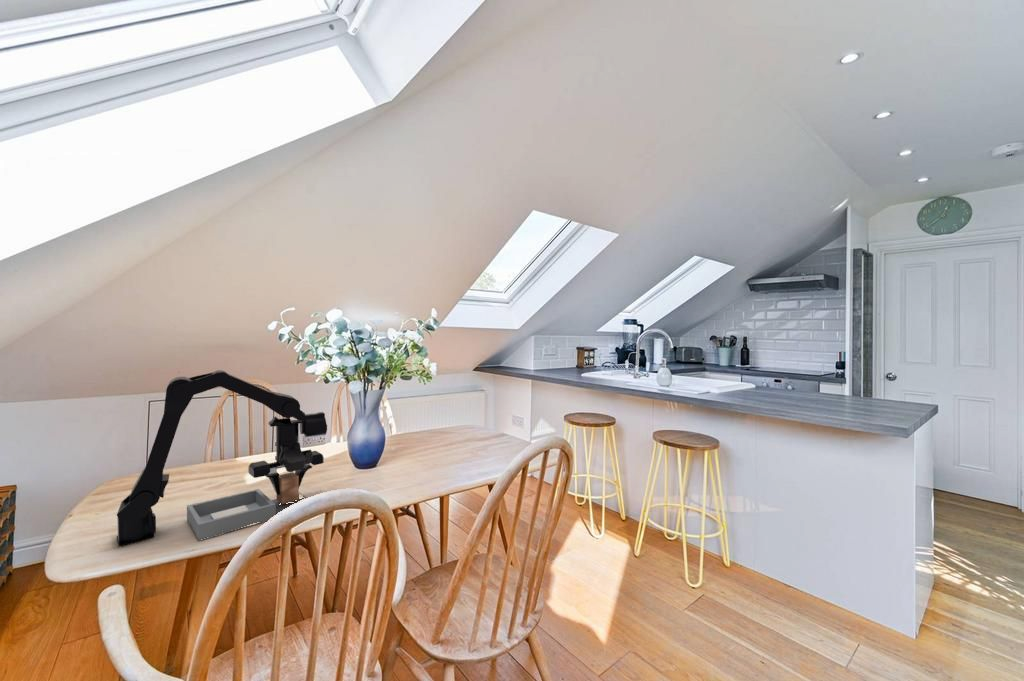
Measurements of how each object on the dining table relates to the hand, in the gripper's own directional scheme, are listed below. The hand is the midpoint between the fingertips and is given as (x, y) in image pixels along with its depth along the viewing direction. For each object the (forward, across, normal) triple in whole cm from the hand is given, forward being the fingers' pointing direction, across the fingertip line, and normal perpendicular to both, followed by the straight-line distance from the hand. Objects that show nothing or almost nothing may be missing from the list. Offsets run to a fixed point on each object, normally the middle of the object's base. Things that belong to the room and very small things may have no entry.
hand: (287, 492), depth 124 cm
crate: (+4, -14, 0) cm, 14 cm away
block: (+2, 0, 0) cm, 2 cm away
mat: (+4, 0, 0) cm, 4 cm away
